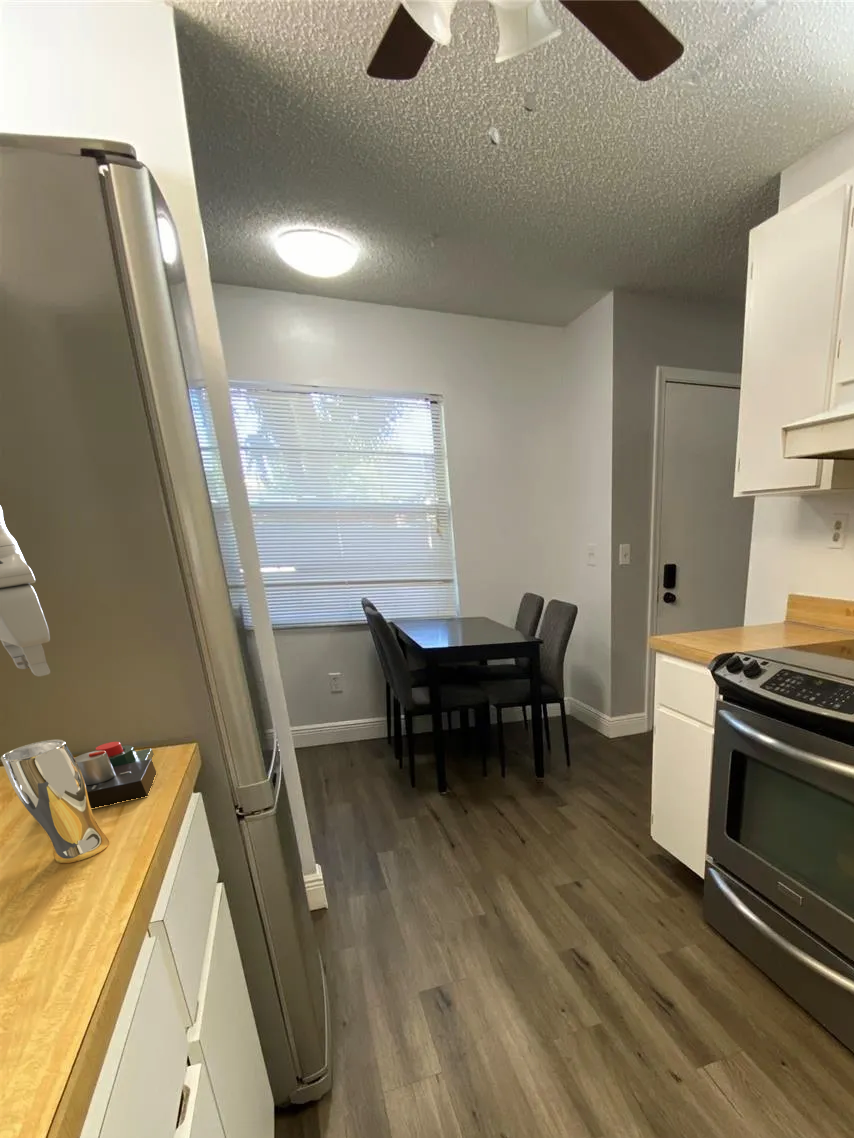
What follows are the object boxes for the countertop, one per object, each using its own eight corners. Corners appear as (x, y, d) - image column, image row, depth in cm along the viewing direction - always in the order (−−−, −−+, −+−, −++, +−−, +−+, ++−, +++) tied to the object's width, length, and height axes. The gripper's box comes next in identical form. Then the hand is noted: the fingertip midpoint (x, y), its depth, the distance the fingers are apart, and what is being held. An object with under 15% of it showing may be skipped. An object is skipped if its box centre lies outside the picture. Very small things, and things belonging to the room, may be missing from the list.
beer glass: (113, 851, 85) (65, 748, 78) (49, 871, 81) (-6, 766, 75) (113, 832, 90) (68, 734, 84) (53, 850, 87) (2, 749, 80)
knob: (79, 787, 98) (68, 762, 97) (86, 777, 102) (75, 752, 100) (112, 780, 100) (101, 755, 98) (118, 770, 104) (107, 746, 102)
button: (97, 760, 107) (92, 751, 106) (102, 753, 110) (97, 744, 109) (121, 755, 108) (117, 746, 108) (125, 749, 111) (121, 739, 111)
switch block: (80, 789, 106) (70, 768, 104) (92, 772, 112) (82, 752, 111) (148, 774, 109) (139, 753, 107) (155, 759, 116) (147, 738, 114)
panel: (50, 819, 96) (41, 801, 95) (68, 794, 104) (60, 777, 103) (147, 797, 100) (140, 779, 99) (157, 774, 109) (150, 757, 107)
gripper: (-57, 574, 89) (-9, 669, 95) (-29, 577, 77) (24, 686, 83) (-1, 567, 94) (41, 658, 99) (34, 568, 81) (80, 672, 87)
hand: (34, 671), depth 91 cm, fingers open, 8 cm apart
